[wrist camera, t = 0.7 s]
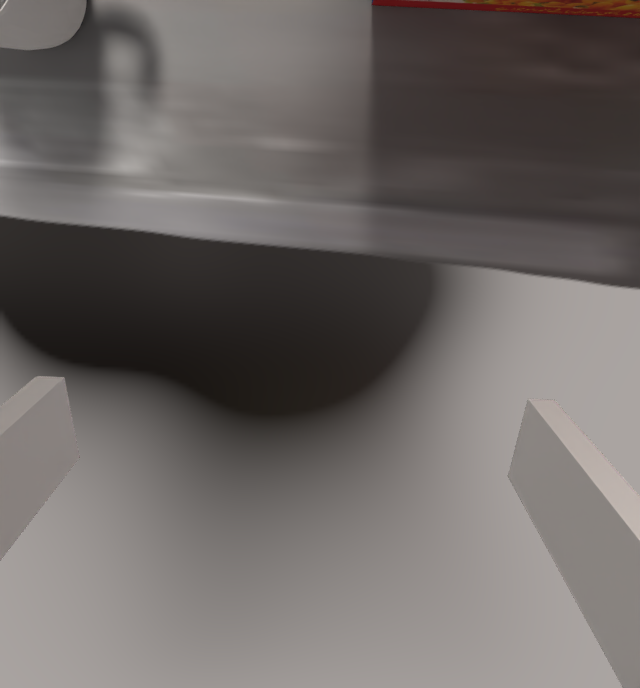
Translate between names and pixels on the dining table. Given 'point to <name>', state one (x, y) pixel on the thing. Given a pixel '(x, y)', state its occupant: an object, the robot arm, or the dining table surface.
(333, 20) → the dining table surface
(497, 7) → the pasta box
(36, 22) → the mug
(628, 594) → the robot arm
